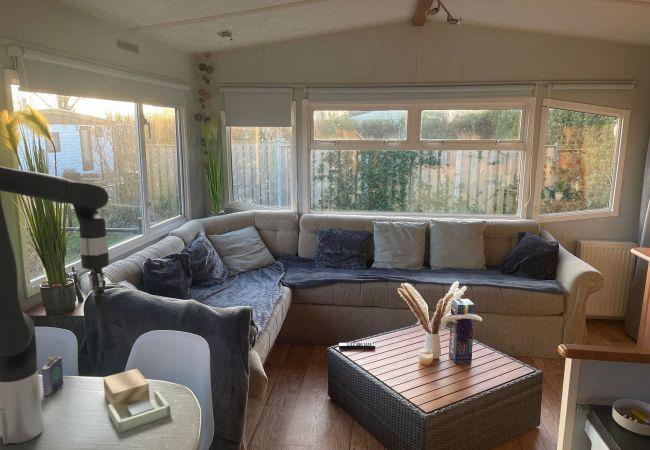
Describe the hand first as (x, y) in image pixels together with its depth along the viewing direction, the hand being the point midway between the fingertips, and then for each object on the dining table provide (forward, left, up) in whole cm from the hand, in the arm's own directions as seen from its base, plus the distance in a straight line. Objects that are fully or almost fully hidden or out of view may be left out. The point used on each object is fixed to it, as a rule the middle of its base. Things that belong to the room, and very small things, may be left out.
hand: (98, 306), depth 145 cm
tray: (+4, -21, -28) cm, 35 cm away
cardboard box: (+4, -10, -28) cm, 30 cm away
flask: (-13, +10, -28) cm, 32 cm away
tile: (+5, -21, -25) cm, 33 cm away
